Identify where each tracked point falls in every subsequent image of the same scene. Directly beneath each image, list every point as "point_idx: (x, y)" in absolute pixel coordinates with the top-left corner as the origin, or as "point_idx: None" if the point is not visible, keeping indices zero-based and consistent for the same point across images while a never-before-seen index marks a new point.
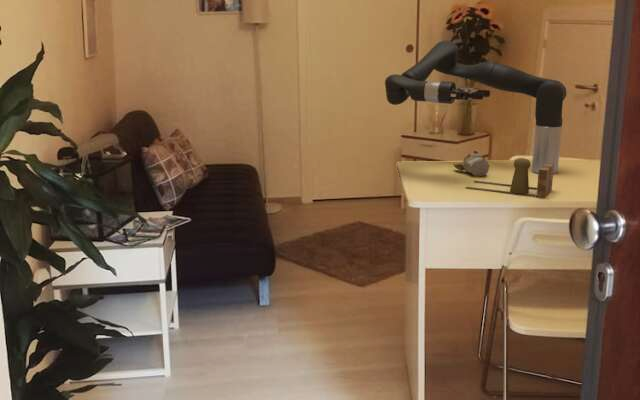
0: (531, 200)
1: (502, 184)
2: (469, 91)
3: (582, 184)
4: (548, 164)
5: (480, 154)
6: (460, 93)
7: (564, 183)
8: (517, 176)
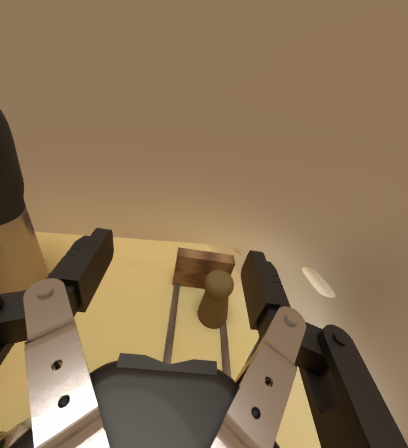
0: (243, 295)
1: (171, 348)
2: (296, 319)
3: (123, 245)
4: (189, 253)
5: (24, 430)
6: (373, 403)
7: (122, 262)
8: (227, 301)
